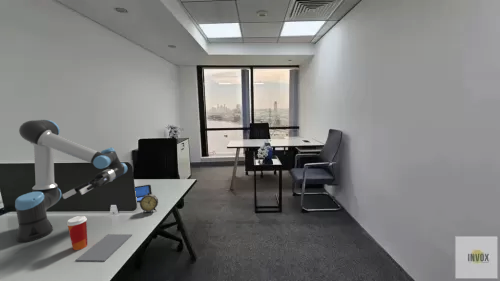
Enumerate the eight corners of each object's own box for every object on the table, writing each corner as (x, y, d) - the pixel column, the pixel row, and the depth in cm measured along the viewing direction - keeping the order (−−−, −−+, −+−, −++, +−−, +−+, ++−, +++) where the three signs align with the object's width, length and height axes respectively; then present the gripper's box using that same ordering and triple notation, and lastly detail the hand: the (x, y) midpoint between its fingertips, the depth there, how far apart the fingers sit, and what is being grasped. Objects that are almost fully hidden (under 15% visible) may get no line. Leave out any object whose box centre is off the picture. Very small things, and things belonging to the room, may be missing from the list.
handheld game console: (131, 204, 169) (130, 192, 168) (130, 198, 180) (129, 187, 179) (153, 199, 177) (152, 188, 175) (151, 194, 188) (150, 184, 187)
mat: (75, 261, 104) (75, 260, 104) (107, 235, 126) (107, 234, 126) (104, 261, 103) (104, 260, 103) (132, 235, 125) (132, 234, 125)
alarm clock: (140, 213, 152) (138, 190, 150) (143, 210, 157) (141, 188, 155) (157, 212, 153) (155, 189, 151) (159, 209, 159) (157, 186, 157)
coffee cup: (78, 242, 120) (75, 215, 118) (93, 242, 120) (90, 215, 118) (65, 251, 112) (61, 223, 110) (81, 251, 111) (77, 223, 109)
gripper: (122, 178, 136) (91, 196, 117) (93, 186, 144) (59, 204, 124) (117, 167, 135) (85, 183, 115) (88, 175, 142) (53, 192, 123)
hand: (71, 194), depth 120 cm, fingers open, 13 cm apart
